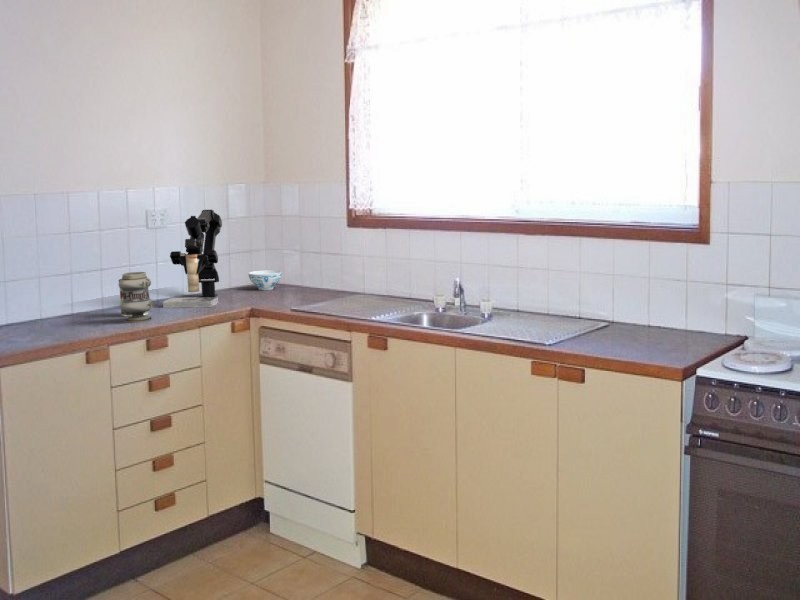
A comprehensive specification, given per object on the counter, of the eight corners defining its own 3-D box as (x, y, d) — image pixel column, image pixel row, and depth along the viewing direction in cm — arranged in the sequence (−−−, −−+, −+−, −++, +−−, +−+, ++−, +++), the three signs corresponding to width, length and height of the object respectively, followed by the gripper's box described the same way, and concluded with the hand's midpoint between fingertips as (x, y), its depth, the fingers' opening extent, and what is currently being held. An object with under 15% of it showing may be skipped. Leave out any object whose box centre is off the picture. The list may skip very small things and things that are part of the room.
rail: (171, 304, 397) (170, 298, 396) (218, 303, 395) (217, 297, 394) (163, 307, 387) (162, 301, 386) (211, 307, 385) (211, 300, 385)
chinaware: (271, 285, 443) (270, 269, 442) (289, 288, 432) (288, 271, 431) (243, 289, 434) (242, 272, 432) (260, 292, 422) (259, 275, 421)
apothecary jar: (120, 319, 362) (116, 272, 360) (152, 316, 366) (149, 269, 364) (122, 324, 351) (119, 275, 348) (156, 321, 355) (152, 273, 353)
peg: (193, 290, 392) (191, 254, 390) (201, 291, 390) (199, 254, 387) (185, 292, 388) (183, 255, 386) (194, 292, 386) (191, 255, 384)
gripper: (169, 231, 389) (164, 262, 380) (214, 230, 389) (210, 260, 380) (175, 249, 398) (170, 278, 389) (220, 247, 398) (216, 277, 389)
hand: (191, 273), depth 387 cm, fingers closed on peg, 4 cm apart
